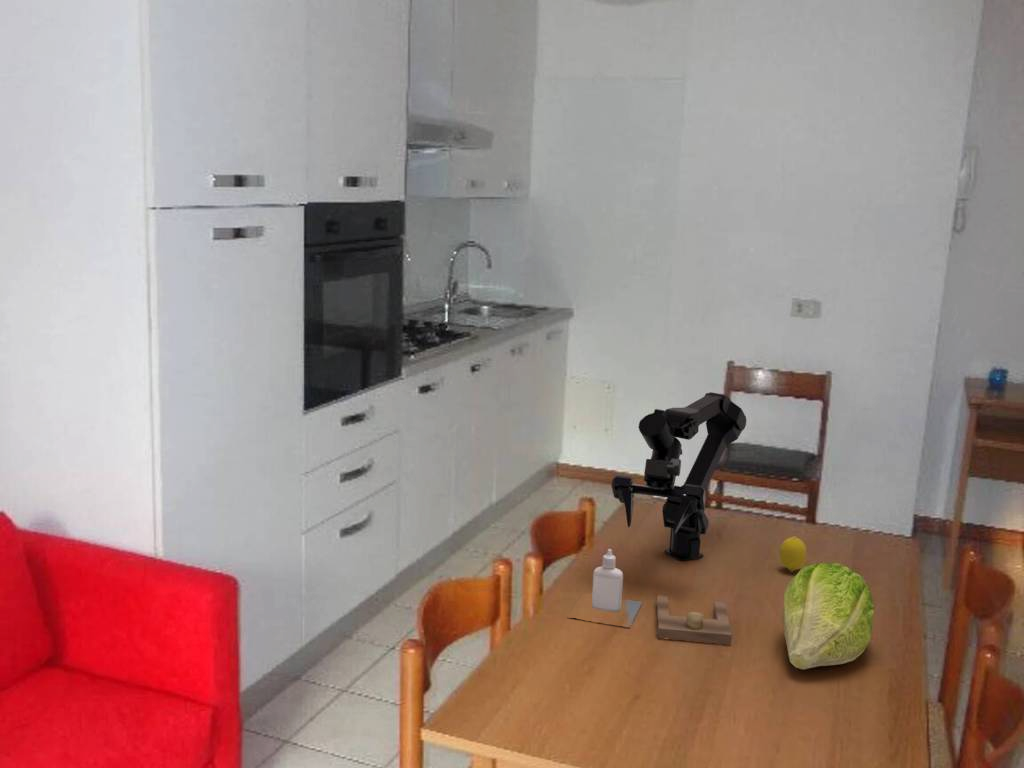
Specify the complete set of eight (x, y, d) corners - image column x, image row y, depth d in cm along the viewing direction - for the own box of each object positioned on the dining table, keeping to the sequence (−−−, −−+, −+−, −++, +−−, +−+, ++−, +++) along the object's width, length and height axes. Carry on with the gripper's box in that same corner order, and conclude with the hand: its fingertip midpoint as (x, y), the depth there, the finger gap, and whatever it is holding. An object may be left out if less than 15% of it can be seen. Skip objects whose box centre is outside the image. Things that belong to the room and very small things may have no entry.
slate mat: (583, 594, 199) (583, 592, 198) (642, 604, 195) (642, 602, 195) (567, 617, 187) (567, 615, 187) (629, 628, 184) (630, 626, 184)
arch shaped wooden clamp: (656, 605, 195) (658, 585, 194) (723, 610, 193) (725, 591, 192) (658, 638, 180) (659, 618, 179) (730, 645, 179) (732, 624, 178)
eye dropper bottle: (610, 616, 188) (614, 556, 185) (587, 607, 192) (591, 548, 189) (624, 610, 191) (628, 551, 188) (602, 600, 195) (605, 543, 192)
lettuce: (845, 710, 165) (756, 686, 175) (891, 621, 182) (808, 604, 192) (837, 638, 160) (745, 617, 169) (885, 553, 177) (800, 539, 187)
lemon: (807, 576, 212) (811, 541, 211) (781, 575, 212) (785, 540, 211) (800, 567, 218) (804, 532, 216) (775, 566, 218) (778, 531, 216)
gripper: (616, 437, 202) (600, 504, 194) (708, 447, 197) (696, 517, 189) (621, 464, 211) (607, 529, 203) (710, 475, 206) (698, 543, 197)
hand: (651, 529), depth 198 cm, fingers open, 9 cm apart
